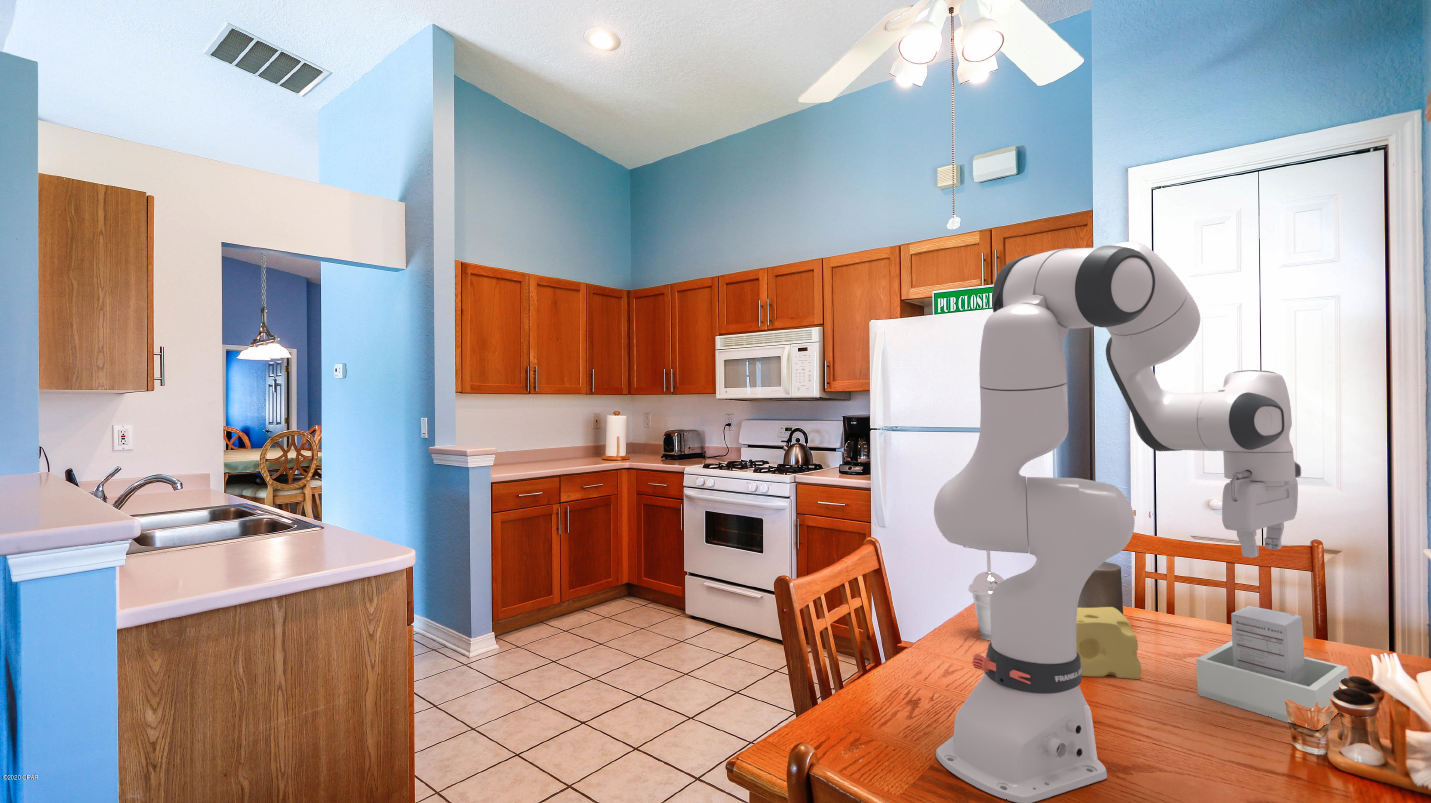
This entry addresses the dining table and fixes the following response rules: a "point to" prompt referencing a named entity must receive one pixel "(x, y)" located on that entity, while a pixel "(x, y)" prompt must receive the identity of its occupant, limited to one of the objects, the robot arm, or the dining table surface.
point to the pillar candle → (1103, 588)
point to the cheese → (1106, 643)
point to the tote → (1265, 684)
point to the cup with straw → (984, 597)
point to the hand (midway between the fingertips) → (1262, 552)
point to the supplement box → (1269, 643)
